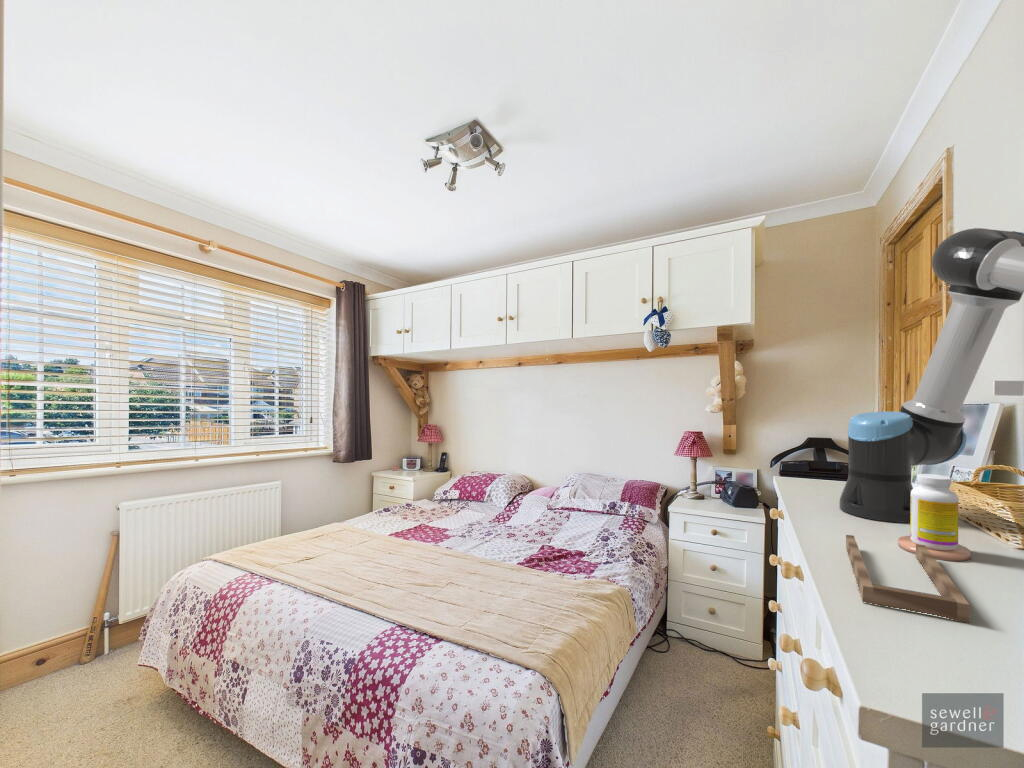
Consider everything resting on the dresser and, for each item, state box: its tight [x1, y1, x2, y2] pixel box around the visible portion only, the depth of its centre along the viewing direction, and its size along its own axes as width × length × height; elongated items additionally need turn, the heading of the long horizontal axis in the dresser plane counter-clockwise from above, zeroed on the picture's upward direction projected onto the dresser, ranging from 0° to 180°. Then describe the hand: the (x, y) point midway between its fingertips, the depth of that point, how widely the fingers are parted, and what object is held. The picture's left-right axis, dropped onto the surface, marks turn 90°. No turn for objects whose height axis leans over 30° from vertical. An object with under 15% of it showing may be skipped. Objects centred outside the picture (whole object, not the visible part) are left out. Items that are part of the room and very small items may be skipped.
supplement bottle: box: [909, 473, 959, 551], centre depth 87 cm, size 7×7×13 cm
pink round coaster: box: [897, 535, 971, 562], centre depth 88 cm, size 10×10×1 cm
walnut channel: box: [845, 534, 971, 624], centre depth 76 cm, size 25×11×2 cm, turn 149°
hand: (1007, 389), depth 82 cm, fingers open, 13 cm apart
